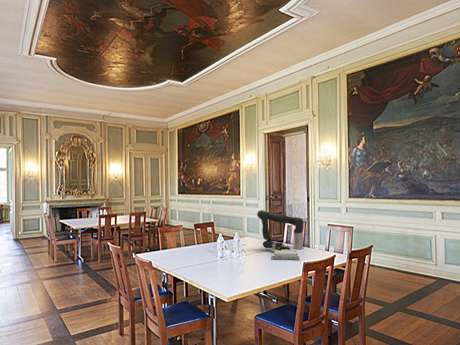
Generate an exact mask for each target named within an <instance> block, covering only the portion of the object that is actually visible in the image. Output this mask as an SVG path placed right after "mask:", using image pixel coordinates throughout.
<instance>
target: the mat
mask: <svg viewBox="0 0 460 345" xmlns="http://www.w3.org/2000/svg"><path fill="white" fill-rule="evenodd" d="M270 261H301V258H300V256H299V255H298V259H275V255H271V258H270Z"/></svg>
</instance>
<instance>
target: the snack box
mask: <svg viewBox="0 0 460 345" xmlns="http://www.w3.org/2000/svg"><path fill="white" fill-rule="evenodd" d="M273 250H274V251H273V252H274V254H273V256H275V259H298V256H299V255H298V251H297V250H291V249H290V250H287V249H286V250H285V249H284V250H276V249H273Z"/></svg>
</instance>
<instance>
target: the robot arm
mask: <svg viewBox="0 0 460 345" xmlns="http://www.w3.org/2000/svg"><path fill="white" fill-rule="evenodd" d="M256 215H257V218H258V219H260V221H261V223H262V226H261V227H262V229H261V231H262V237H263V239H264V240H265V241H263V243H262V246H263V247H264V248H265V249H273V250H291V247H290V246H289V245H285V244H283V242H280V241H279V242H278V241H273V240H272V238H271V236H270V229H269V220H270V221H272V222H275V223H280V224H290V225H293V226H295V228H294V229H293V249H294V250H303V249H304V241H303V239H304V237H303V236H304V235H303V234H304V233H303V231H304V220H303V218H301V217H296V216H288V215H285V214H283V213H277V212H268V211H265V210H263V209H261V210H259V211H258V212H257V213H256Z"/></svg>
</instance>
